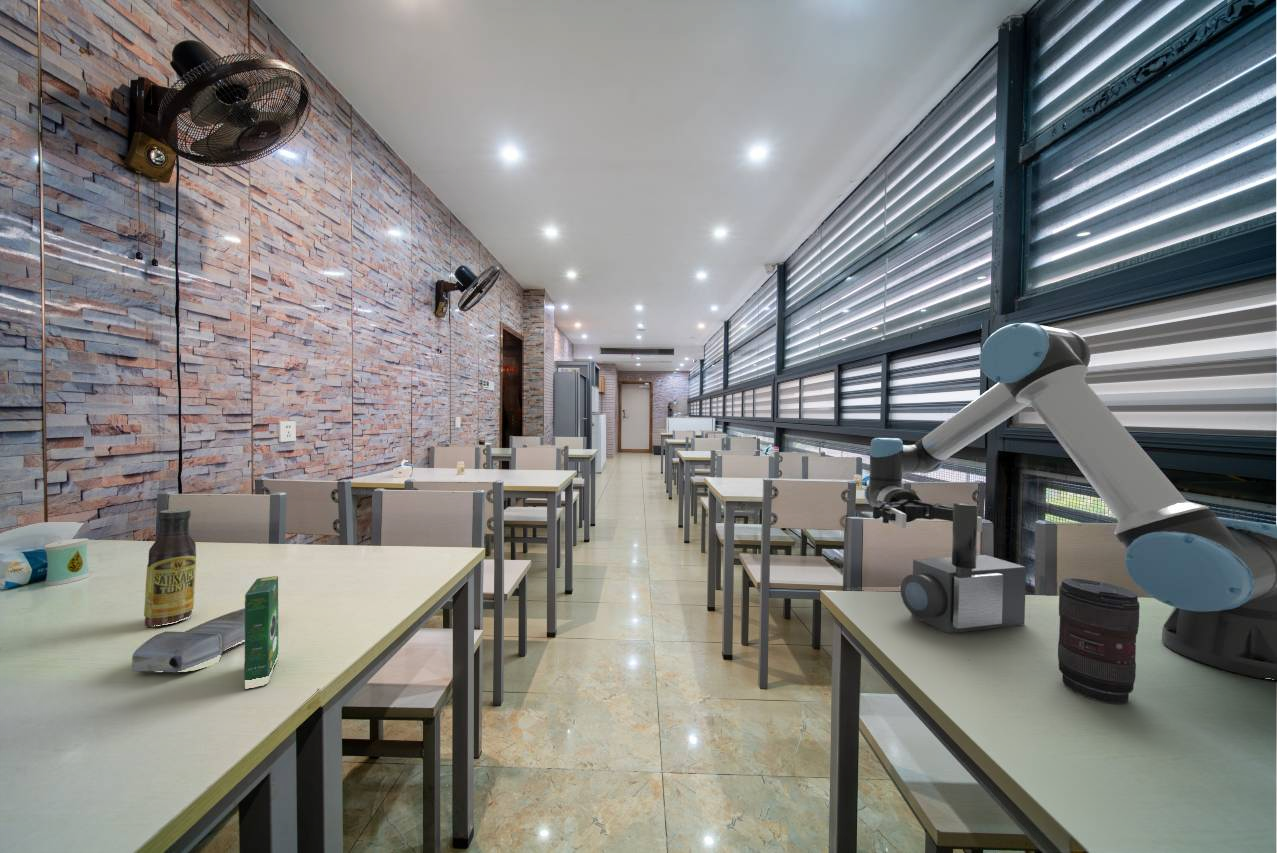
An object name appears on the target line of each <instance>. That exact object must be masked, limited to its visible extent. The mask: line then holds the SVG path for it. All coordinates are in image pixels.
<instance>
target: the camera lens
mask: <svg viewBox="0 0 1277 853" xmlns="http://www.w3.org/2000/svg"><path fill="white" fill-rule="evenodd" d="M1058 591H1059V593H1058V596H1059V597H1058V615H1059V616H1058V617H1059V626H1058V627H1059V630H1058V634H1059V635H1058V642H1057V660H1058V670H1059V671H1060V672H1061V674H1062V676H1061V677H1062V682H1063V685H1065V687H1067V688H1068V687H1069V688H1068V689H1070V690H1071V689H1072V690H1071V691H1072V692H1074V691H1075V692H1074V693H1076V692H1078V693H1080V694H1079V695H1081V694H1082V695H1081V696H1083V695H1084V696H1083V697H1085V696H1086V698H1088V697H1089V698H1088V699H1091V698H1092V699H1091V700H1094V699H1095V700H1094V701H1097V700H1098V701H1097V702H1101V701H1102V702H1101V703H1106V704H1114V705H1120V704H1126V703H1128V701H1129V697H1130V693H1132V692H1133V691H1134V685H1135V681H1136V671H1137V663H1136V657H1137V656H1136V655H1137V654H1136V652H1137V651H1136V650H1137V645H1136V643H1137V635H1138V633H1139V627H1140V602H1139V600H1138V599H1139V598H1138V594H1137V593H1136V592H1134V591H1133V590H1130V589H1127V588H1124V587H1121V586H1118V585H1115V584H1110V583H1107V582H1101V581H1096V580H1089V579H1083V578H1081V579H1080V578H1073V577H1072V578H1063V579H1062V580H1061V585H1059V590H1058ZM1078 693H1077V694H1078Z"/></svg>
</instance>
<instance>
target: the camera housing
mask: <svg viewBox="0 0 1277 853" xmlns="http://www.w3.org/2000/svg"><path fill="white" fill-rule="evenodd" d="M990 573H1000V574H1003V602H1002V624H994V625H985V626H977V627H968V628H959V629H958V628H956V627H954V626H953V605H954V576H956V566H954V565H952V556H947V557H932V558H921V559H920V558H918V559H913V560H912V574H910V575H907V576H905V577H904V578H903V579H902V581H901V583H900V595H901V599H902V602H903V603H904V606H905V608H906V609H907V610H908V611H909V612H910V613H911V616H913V617H914V618H917V619H919V620H920V621H923V622H925V623H926V624H929V625H931V626H933V627H934V628H937V629H938V630H940V629H941V630H940V631H942V630H943V632H944V631H945V632H944V633H946V632H947V634H954V633H965V632H970V631H979V630H980V631H981V630H991V629H997V628H998V629H999V628H1006V627H1017V626H1024V625H1025V620H1026V618H1025V617H1026V615H1025V613H1026V590H1027V588H1026V586H1027V584H1026V582H1027V581H1026V580H1027V579H1026V578H1027V566H1023V565H1021V564H1017V563H1015V562H1014V563H1013V562H1011V561H1007V560H1004V559H1000V558H997V557H994V556H990V555H986V554H977V559H976V568H975V569H972V575H978V574H990Z"/></svg>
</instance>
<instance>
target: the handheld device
mask: <svg viewBox="0 0 1277 853" xmlns="http://www.w3.org/2000/svg"><path fill="white" fill-rule="evenodd" d="M242 640H245V607H244V608H241V609H238V610H234V611H231V612H228V613H227V614H224V615H220V616H218V617H216V618H213V619H210V620H208V621H205V622H203V623H200V624H199V625H197V626H194V627H192V628H190V629H186V630H185V631H174V630H173V631H163V632H159V633H158V634H156V635H153V636H152V637H151V638H148V640H146V641H145V642H143V643H142V644H141V645H140V646H139V647H137V649H136V650H134V652H133V654H132V657H131V658H132V659H131V662H132V663H131V669H132V671H134V672H139V671H163V672H178V671H182V670H185V669H187V668H190V667H193V666H195V665H198V664H200V663H203V662H205V661H208V660H210V659H213V658H215V657H217V656H218V655H220V654H222V655H223V653H224V652H223V651H224V650H225V649H227V648H229V647H231V646H233V645H235V644H236V643H238V642H241V641H242ZM222 652H223V653H222Z"/></svg>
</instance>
